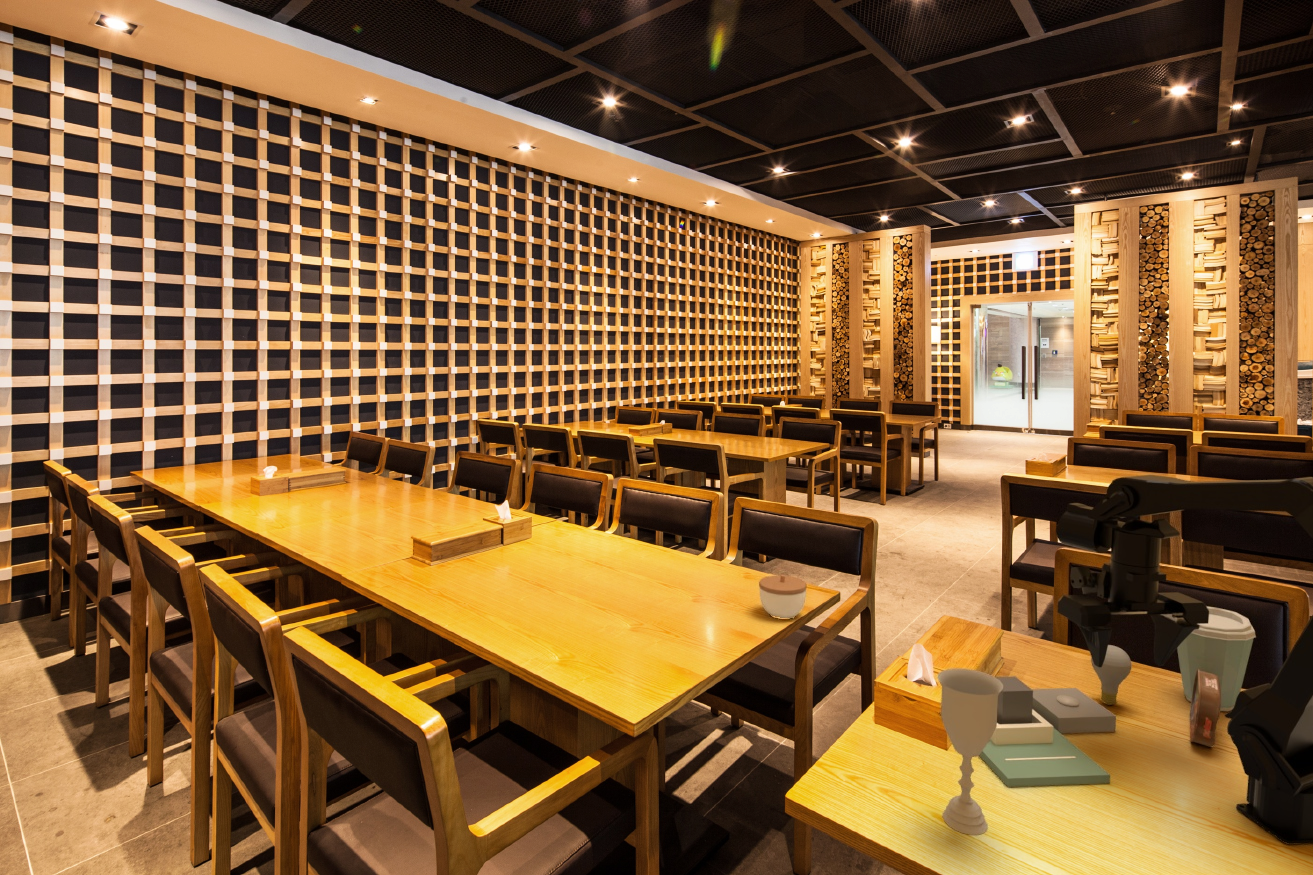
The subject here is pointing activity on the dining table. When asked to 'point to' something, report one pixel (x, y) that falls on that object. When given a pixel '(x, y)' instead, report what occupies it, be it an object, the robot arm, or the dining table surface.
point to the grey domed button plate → (1072, 711)
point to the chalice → (968, 736)
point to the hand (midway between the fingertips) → (1128, 665)
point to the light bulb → (1112, 673)
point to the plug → (1014, 702)
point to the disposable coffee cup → (1218, 653)
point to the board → (1039, 756)
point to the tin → (1205, 708)
